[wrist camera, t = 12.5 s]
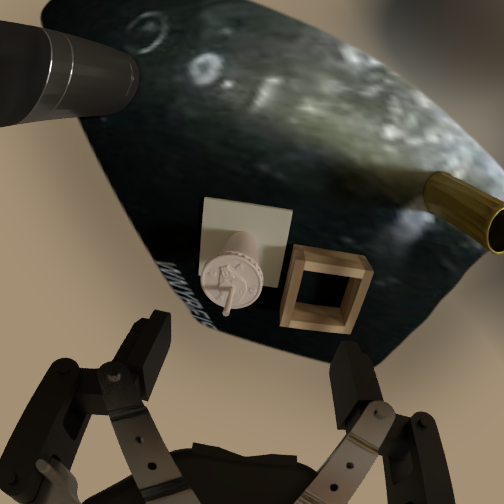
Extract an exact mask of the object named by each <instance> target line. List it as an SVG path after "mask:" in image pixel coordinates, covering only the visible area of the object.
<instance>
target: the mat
mask: <svg viewBox="0 0 504 504" xmlns="http://www.w3.org/2000/svg"><path fill="white" fill-rule="evenodd" d="M292 213H293V210H289V209H283V208H277V207H271V206H264V205H258V204H251V203H245V202H238V201H231V200H224V199H217V198H209V197H205V198H204V207H203V219H202V232H201V246H200V261H199V275H201V273H202V270H203V267H204V265H205V263H206V262H207V260H208V259H209V258H210V257H212V256H213V255H215V254H217V253H218V251H219V250H220V249H221V248H222V247H223V245H224V244H225V243H226V242H227V240H228V239H229V238H230V237H231V236H232V235H233V234H234V233H236V232H240V231H243V232H247V233H249V234H251V235H252V236H253V237H254V238H255V240H256V244H257V252H258V261H259V267H260V269H261V271H262V274H263V286H269V287H275V288H277V287H278V283H279V278H280V273H281V268H282V263H283V258H284V254H285V249H286V243H287V238H288V233H289V228H290V223H291V218H292Z"/></svg>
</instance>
